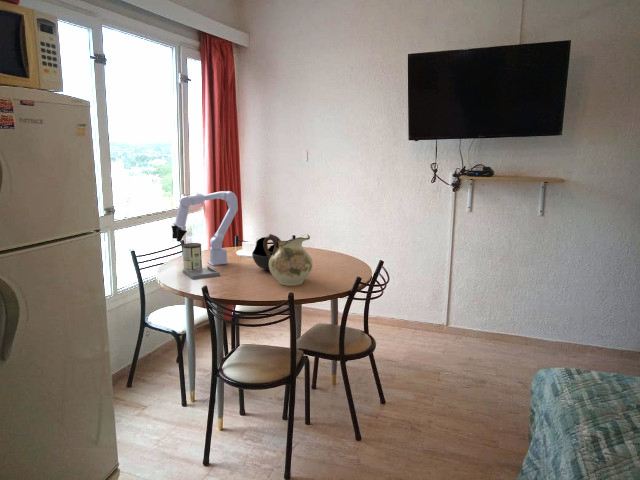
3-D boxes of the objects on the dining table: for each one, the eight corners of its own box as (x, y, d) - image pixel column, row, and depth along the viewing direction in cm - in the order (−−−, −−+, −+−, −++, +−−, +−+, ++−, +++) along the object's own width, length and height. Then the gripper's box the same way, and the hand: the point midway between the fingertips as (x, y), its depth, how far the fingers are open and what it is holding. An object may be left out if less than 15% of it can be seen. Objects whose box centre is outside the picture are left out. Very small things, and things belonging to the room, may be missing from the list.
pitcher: (317, 286, 227) (317, 237, 223) (270, 290, 220) (270, 239, 216) (306, 275, 248) (306, 230, 244) (263, 278, 242) (262, 232, 237)
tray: (209, 269, 259) (208, 265, 259) (220, 275, 246) (219, 272, 246) (182, 272, 251) (182, 269, 251) (192, 279, 238) (192, 276, 238)
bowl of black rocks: (251, 266, 267) (250, 234, 263) (285, 264, 271) (285, 233, 267) (253, 275, 248) (253, 241, 244) (290, 273, 252) (290, 240, 248)
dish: (279, 250, 311) (279, 234, 309) (266, 259, 287) (266, 241, 285) (245, 248, 316) (244, 232, 314) (230, 256, 292) (229, 239, 290)
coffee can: (190, 265, 266) (189, 242, 263) (205, 267, 263) (204, 243, 260) (179, 270, 257) (178, 245, 254) (195, 271, 253) (194, 246, 251)
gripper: (171, 213, 264) (165, 235, 265) (179, 218, 253) (173, 241, 254) (182, 215, 268) (177, 237, 270) (191, 220, 257) (185, 243, 258)
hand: (176, 239), depth 262 cm, fingers open, 7 cm apart
